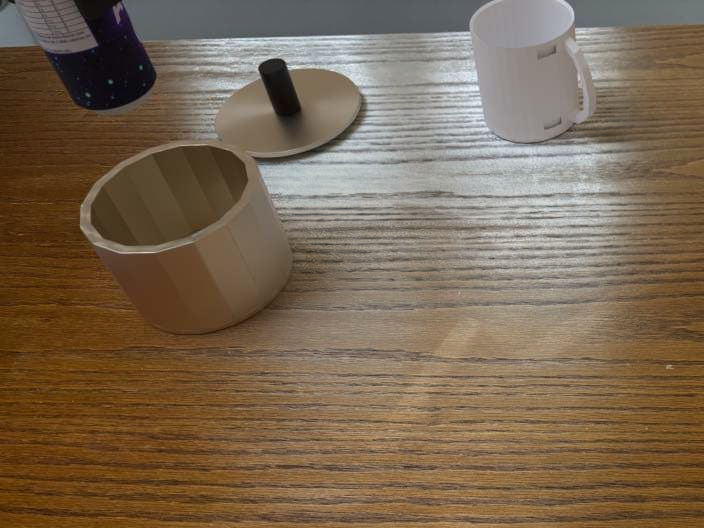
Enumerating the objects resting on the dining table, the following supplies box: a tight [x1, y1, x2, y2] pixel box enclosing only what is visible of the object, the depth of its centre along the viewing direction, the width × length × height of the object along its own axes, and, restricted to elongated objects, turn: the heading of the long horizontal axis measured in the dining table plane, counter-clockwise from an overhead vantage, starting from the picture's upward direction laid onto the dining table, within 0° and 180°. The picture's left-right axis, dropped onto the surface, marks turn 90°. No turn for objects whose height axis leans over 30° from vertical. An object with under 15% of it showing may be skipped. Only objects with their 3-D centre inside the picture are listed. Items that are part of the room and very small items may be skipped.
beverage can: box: [14, 0, 158, 116], centre depth 53 cm, size 6×6×12 cm
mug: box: [468, 0, 597, 144], centre depth 75 cm, size 12×9×9 cm
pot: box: [79, 138, 294, 336], centre depth 66 cm, size 13×13×8 cm
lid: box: [214, 57, 362, 158], centre depth 80 cm, size 14×14×6 cm
